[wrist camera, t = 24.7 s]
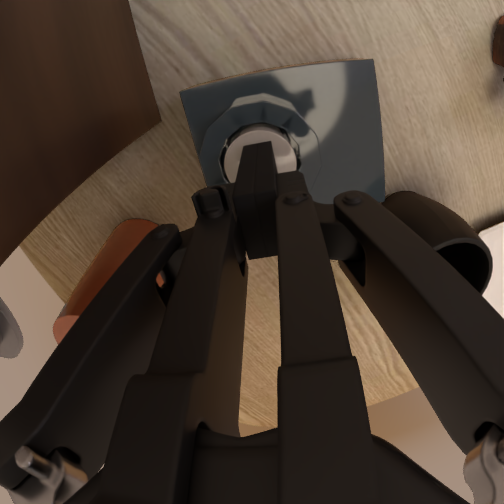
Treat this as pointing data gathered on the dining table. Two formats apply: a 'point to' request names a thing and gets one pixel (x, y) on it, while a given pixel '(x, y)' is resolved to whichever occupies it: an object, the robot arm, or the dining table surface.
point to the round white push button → (257, 135)
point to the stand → (64, 102)
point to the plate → (495, 265)
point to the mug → (445, 235)
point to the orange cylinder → (102, 271)
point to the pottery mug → (499, 43)
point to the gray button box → (298, 122)
